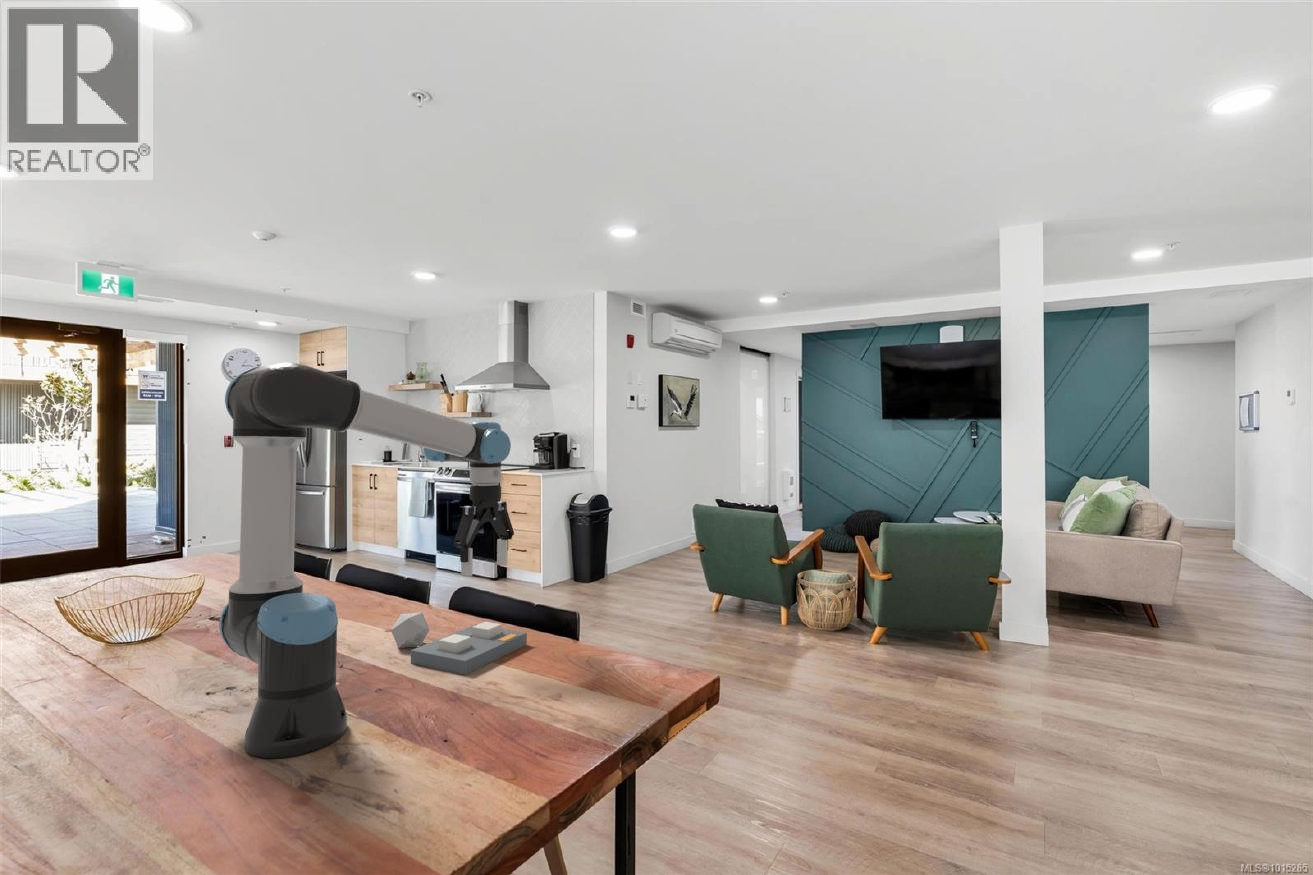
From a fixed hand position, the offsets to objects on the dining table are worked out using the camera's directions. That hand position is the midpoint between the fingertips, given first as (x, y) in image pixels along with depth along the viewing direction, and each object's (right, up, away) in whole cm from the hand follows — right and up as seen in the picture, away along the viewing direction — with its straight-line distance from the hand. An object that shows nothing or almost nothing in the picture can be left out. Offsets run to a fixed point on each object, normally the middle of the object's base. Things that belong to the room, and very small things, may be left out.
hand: (485, 570), depth 153 cm
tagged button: (0, -17, 0) cm, 17 cm away
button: (-4, -17, -10) cm, 20 cm away
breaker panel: (-2, -19, -5) cm, 20 cm away
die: (-19, -19, 0) cm, 27 cm away
